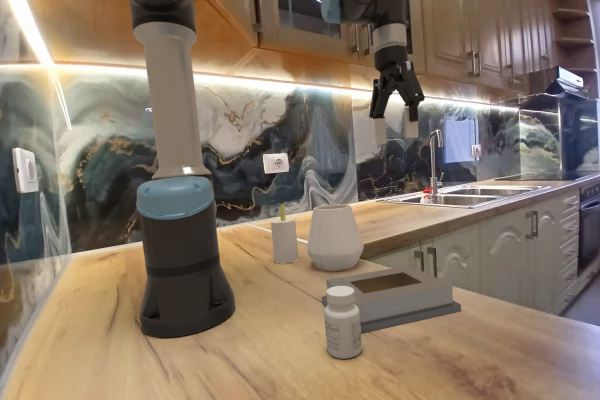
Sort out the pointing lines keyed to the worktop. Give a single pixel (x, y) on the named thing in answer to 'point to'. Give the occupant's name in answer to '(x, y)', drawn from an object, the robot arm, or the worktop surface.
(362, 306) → the holder
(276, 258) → the candle
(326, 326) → the pill bottle
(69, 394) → the worktop surface
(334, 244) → the white vase
